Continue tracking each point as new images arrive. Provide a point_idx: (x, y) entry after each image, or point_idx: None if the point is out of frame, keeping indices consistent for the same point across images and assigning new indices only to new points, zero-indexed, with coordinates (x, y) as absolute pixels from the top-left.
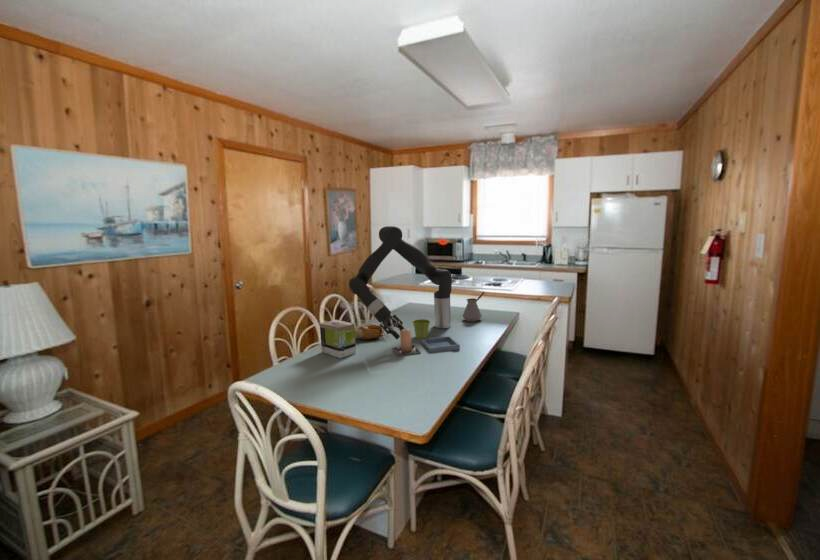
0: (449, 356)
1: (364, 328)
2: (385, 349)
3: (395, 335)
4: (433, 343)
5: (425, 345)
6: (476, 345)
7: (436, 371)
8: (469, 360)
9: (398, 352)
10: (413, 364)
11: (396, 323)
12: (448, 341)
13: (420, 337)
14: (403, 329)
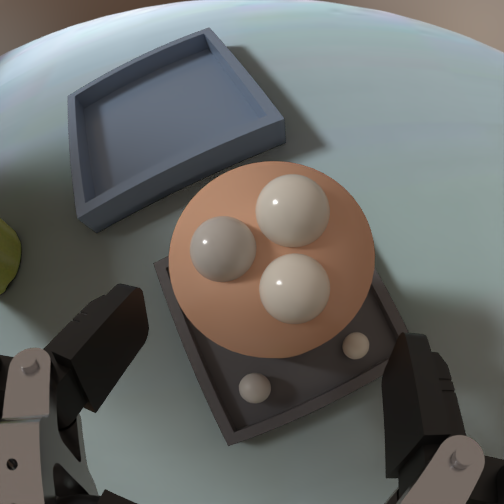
0: (316, 63)
1: None
2: (228, 495)
3: (447, 391)
4: (115, 157)
5: (172, 180)
6: (160, 25)
7: (501, 109)
8: (342, 18)
9: (325, 372)
10: (488, 209)
11: (53, 469)
12: (99, 103)
13: (14, 258)
14: (303, 273)
